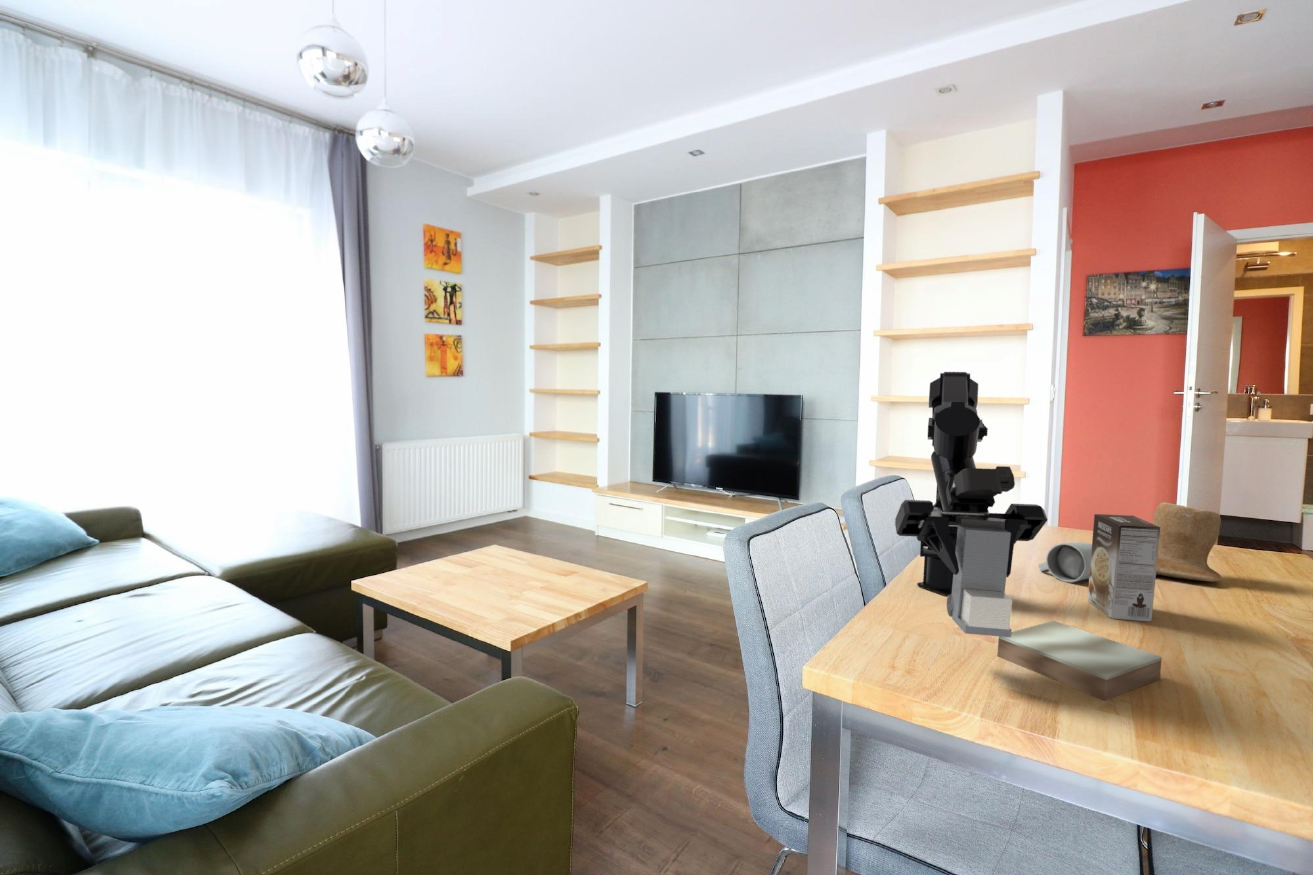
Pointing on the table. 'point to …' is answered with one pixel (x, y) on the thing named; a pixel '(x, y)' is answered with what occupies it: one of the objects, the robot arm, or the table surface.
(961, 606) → the hand trolley
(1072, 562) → the ceramic mug
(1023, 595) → the table surface
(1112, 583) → the coffee box
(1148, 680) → the plate
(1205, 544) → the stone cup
